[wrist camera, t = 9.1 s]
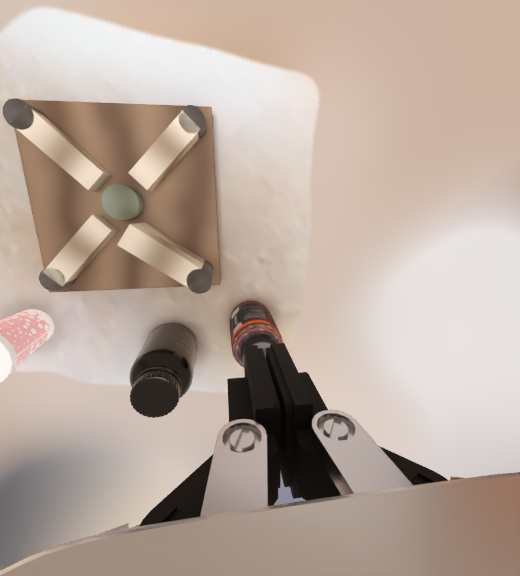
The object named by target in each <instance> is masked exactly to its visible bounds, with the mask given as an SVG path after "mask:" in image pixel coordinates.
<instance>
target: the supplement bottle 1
mask: <svg viewBox="0 0 520 576" xmlns="http://www.w3.org/2000/svg"><path fill="white" fill-rule="evenodd" d="M196 349H197V345H196V340H195V337H194V335H193V334H192V333H191V331H190V330H188V329H187V328H186V327H184V326H181V325H178V324H165V325H162V326H159V327H158V328H156V329H155V330H154V331H153V332H152V333H151V334H150V335H149V337H148V338H147V340H146V342H145V344H144V346H143V347H142V349H141V351H140V353H139V355H138V356H137V358H136V360H135V362H134V364H133V366H132V368H131V371H130V383H131V386H132V390H131V394H130V398H131V399H130V401H131V405H132V406H133V408H134V409H135V410H136V411H137V412H139V413H140V414H143V415H144V416H147V417H153V418H154V417H160V416H164V415H167V414H168V413H170V412H171V411H172V410H173V409H174V408H175V407H176V405H177V403H178V402H179V398H181V397H182V396H183V395H184V394H185V393H186V392H187V390H188V389H189V387H190V385H191V382H192V377H193V371H194V364H195V357H196Z"/></svg>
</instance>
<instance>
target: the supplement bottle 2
mask: <svg viewBox="0 0 520 576" xmlns="http://www.w3.org/2000/svg"><path fill="white" fill-rule="evenodd" d="M230 333H231V345H232V352H233V356H234V357H235V359H236V361H237V362H238V363H239V364H240V365H241V366H242V367H244V346H251V345H257V346H258V348H263V352H264V355H265V358H266V348H270V345H271V344H279V343H283V341H282V337H281V335H280V332H279V330H278V328H277V326H276V324H275V322H274V320H273V318H272V316H271V314H270V312H269V311H268V309H267V308H266V307H265V306H264V305H262V304H260V303H258V302H252V301H251V302H245V303H242V304H240V305H239V306H238V307H236V308H235V309H234V311H233V312H232V314H231V318H230ZM244 368H245V367H244Z"/></svg>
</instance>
